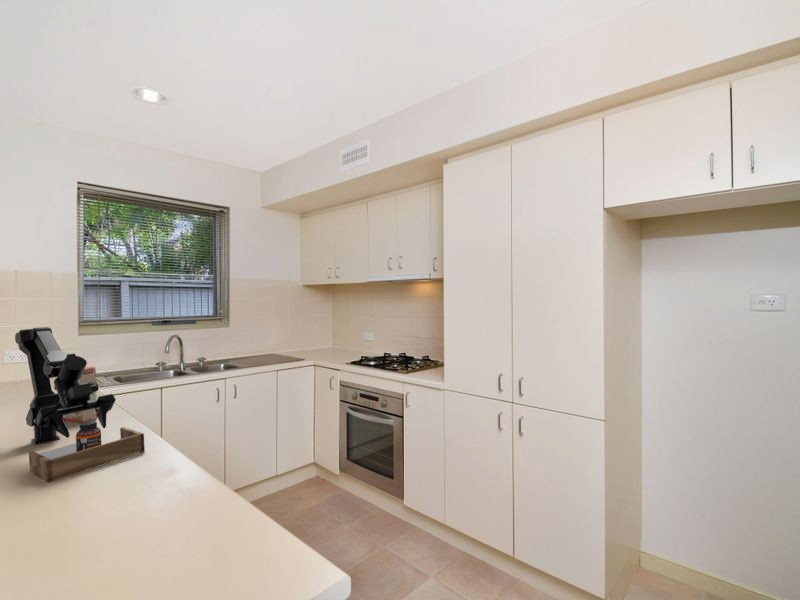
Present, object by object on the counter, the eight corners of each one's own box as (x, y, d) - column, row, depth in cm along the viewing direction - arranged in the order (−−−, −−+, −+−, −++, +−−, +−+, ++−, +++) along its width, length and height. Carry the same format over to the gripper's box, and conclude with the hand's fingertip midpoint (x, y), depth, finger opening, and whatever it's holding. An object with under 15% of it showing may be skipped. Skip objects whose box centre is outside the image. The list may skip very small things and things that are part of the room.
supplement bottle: (88, 465, 119) (86, 426, 118) (71, 464, 120) (69, 425, 120) (107, 457, 124) (105, 419, 124) (90, 456, 126) (89, 419, 125)
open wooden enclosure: (29, 471, 115) (28, 452, 115) (124, 443, 135) (123, 427, 135) (47, 482, 108) (46, 461, 108) (144, 451, 128) (143, 433, 128)
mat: (34, 455, 127) (34, 454, 127) (87, 440, 139) (87, 439, 139) (52, 465, 120) (52, 463, 120) (107, 448, 131) (107, 447, 131)
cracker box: (98, 418, 164) (96, 366, 163) (81, 423, 158) (79, 369, 158) (78, 415, 170) (76, 364, 169) (61, 419, 164) (58, 367, 164)
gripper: (37, 380, 117) (54, 424, 111) (111, 368, 133) (130, 407, 127) (28, 404, 121) (45, 448, 116) (101, 390, 137) (119, 428, 131)
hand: (87, 431), depth 122 cm, fingers open, 9 cm apart
